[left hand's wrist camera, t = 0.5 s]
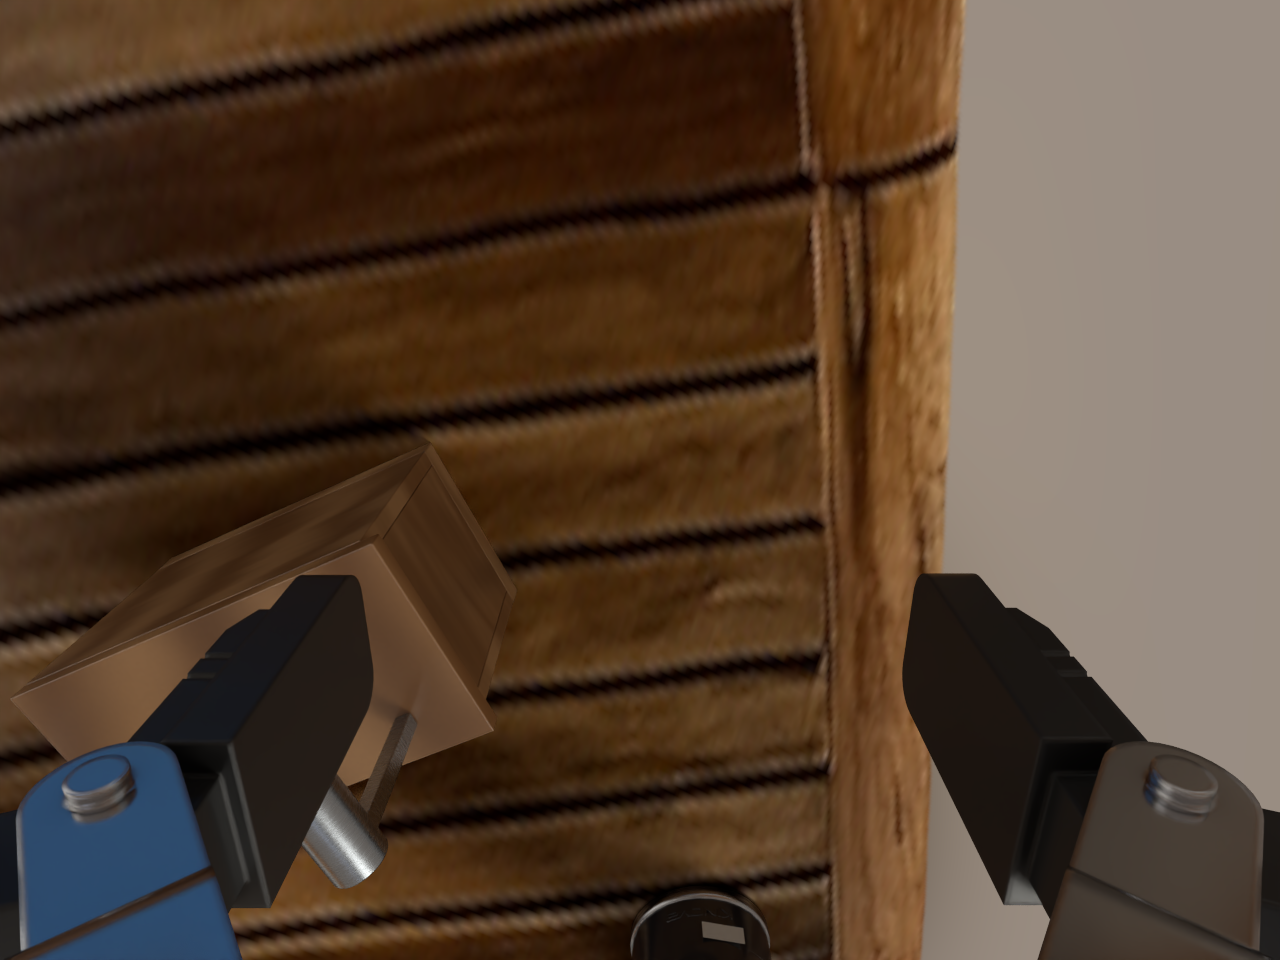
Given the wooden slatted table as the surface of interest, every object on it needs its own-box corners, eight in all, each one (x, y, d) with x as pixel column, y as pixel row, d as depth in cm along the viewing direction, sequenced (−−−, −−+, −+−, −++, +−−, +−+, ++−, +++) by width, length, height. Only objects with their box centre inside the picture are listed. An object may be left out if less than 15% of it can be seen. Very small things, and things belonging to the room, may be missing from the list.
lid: (379, 532, 30) (288, 666, 22) (497, 717, 34) (455, 890, 26) (24, 685, 33) (-170, 853, 25) (167, 842, 36) (36, 1034, 28)
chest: (430, 442, 41) (360, 540, 30) (517, 590, 44) (480, 723, 34) (171, 557, 43) (24, 684, 33) (272, 689, 47) (167, 842, 36)
